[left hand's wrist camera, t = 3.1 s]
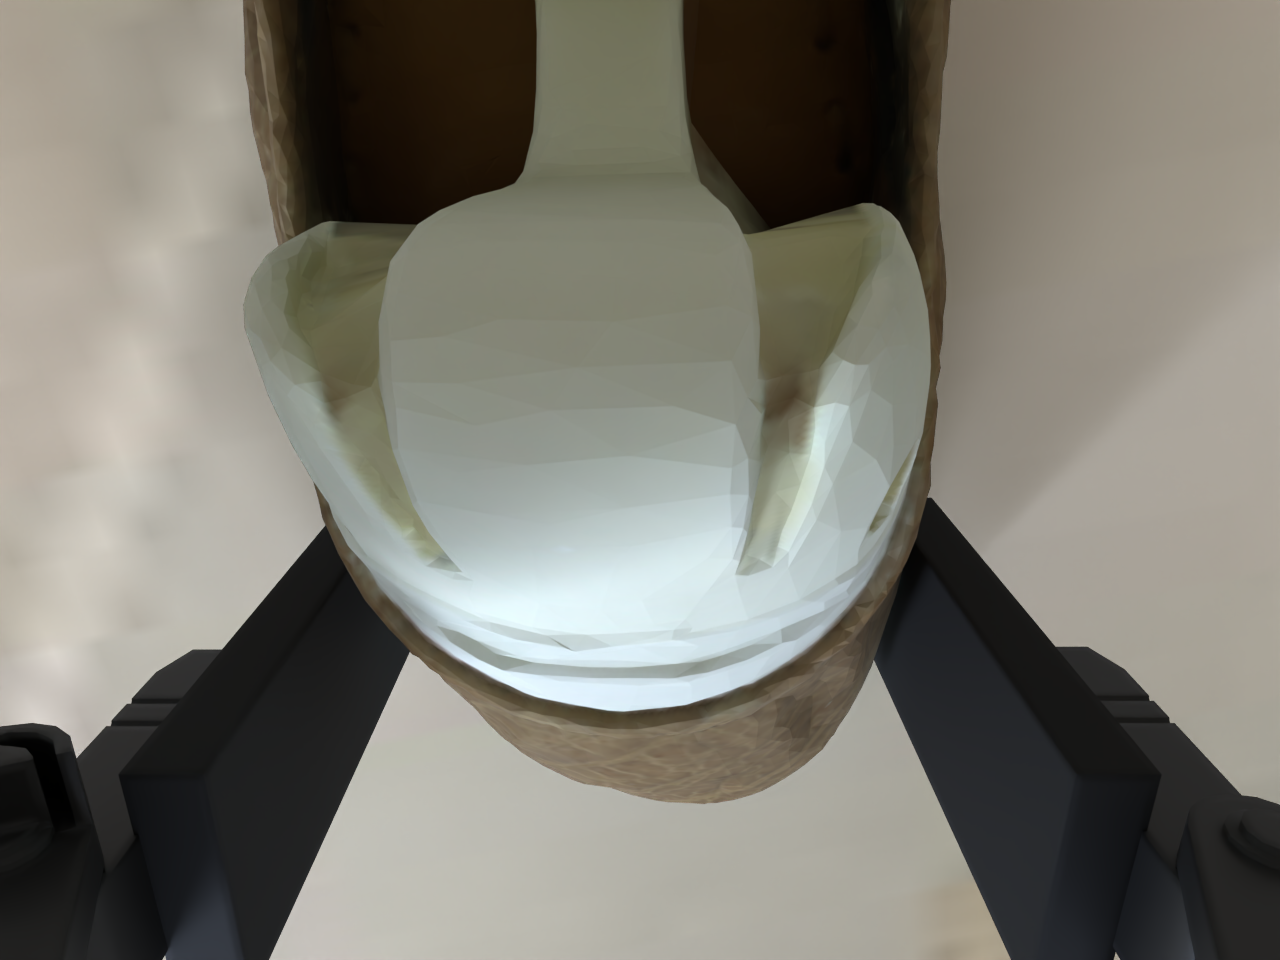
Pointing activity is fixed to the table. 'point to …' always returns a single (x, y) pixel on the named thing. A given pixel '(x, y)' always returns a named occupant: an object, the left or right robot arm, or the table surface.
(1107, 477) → the table surface
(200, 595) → the table surface
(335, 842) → the table surface
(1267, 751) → the table surface
